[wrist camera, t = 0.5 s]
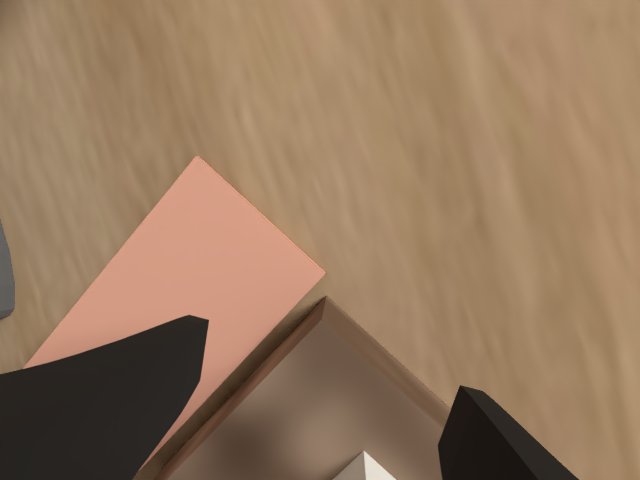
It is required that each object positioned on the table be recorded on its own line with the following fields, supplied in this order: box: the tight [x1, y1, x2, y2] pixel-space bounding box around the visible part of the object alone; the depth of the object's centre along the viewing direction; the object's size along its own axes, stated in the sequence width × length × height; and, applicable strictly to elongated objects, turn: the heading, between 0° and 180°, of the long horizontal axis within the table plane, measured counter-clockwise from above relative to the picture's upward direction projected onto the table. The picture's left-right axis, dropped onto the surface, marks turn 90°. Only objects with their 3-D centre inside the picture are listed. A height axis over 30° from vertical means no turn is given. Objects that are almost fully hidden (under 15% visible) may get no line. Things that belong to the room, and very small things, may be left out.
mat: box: [23, 156, 325, 471], centre depth 20 cm, size 18×10×1 cm, turn 138°
